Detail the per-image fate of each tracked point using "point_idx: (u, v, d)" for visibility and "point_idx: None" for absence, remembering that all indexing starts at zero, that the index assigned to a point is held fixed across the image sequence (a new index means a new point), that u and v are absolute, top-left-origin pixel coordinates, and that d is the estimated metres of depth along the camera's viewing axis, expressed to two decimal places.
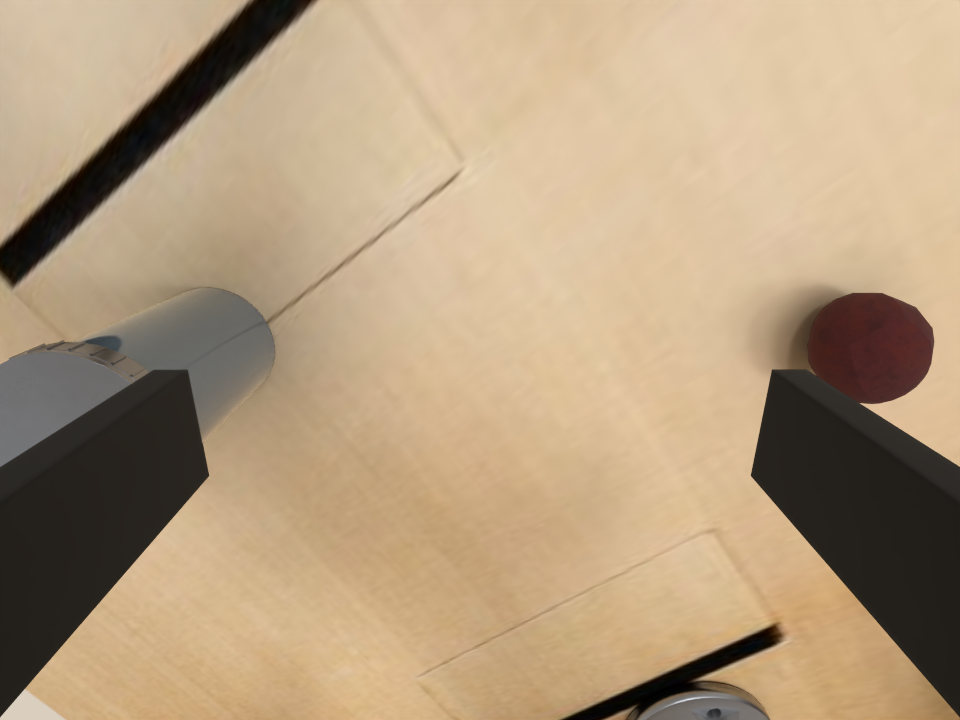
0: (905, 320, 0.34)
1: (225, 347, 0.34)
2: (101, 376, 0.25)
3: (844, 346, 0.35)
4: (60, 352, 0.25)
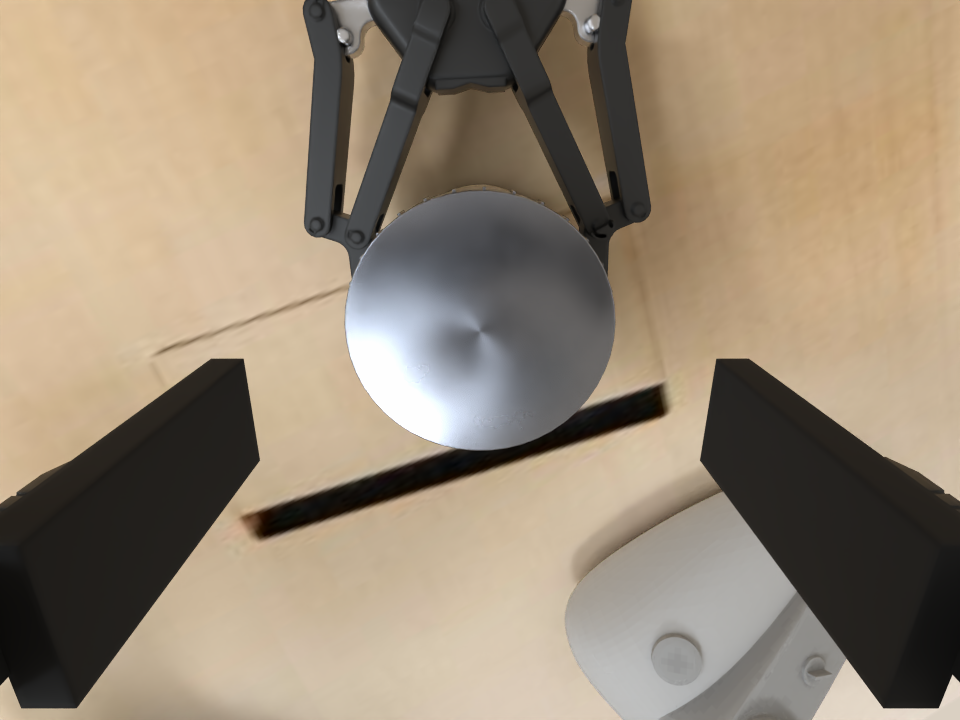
0: None
1: None
2: (394, 402, 0.20)
3: None
4: (429, 440, 0.21)
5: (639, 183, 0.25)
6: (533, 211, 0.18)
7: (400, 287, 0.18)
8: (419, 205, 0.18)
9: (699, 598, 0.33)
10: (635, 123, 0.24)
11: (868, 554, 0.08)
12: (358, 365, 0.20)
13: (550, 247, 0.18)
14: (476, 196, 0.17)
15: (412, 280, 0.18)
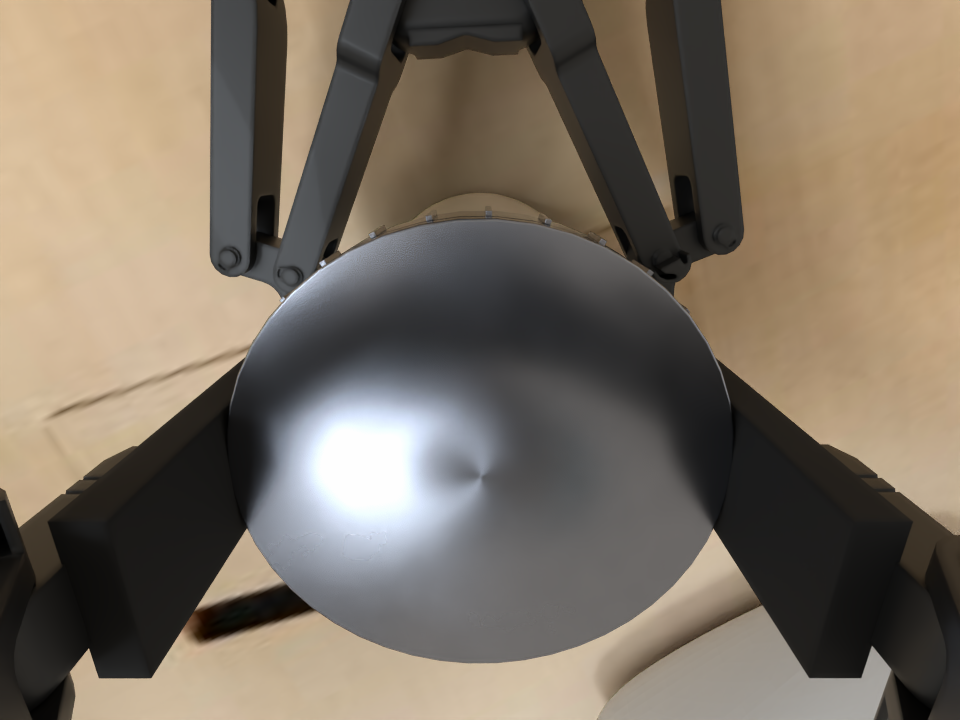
0: None
1: None
2: (326, 590, 0.11)
3: None
4: (392, 646, 0.12)
5: (728, 195, 0.16)
6: (587, 259, 0.09)
7: (328, 400, 0.10)
8: (359, 247, 0.09)
9: None
10: (726, 100, 0.15)
11: (797, 533, 0.08)
12: (258, 531, 0.11)
13: (618, 328, 0.09)
14: (473, 230, 0.09)
15: (350, 388, 0.10)
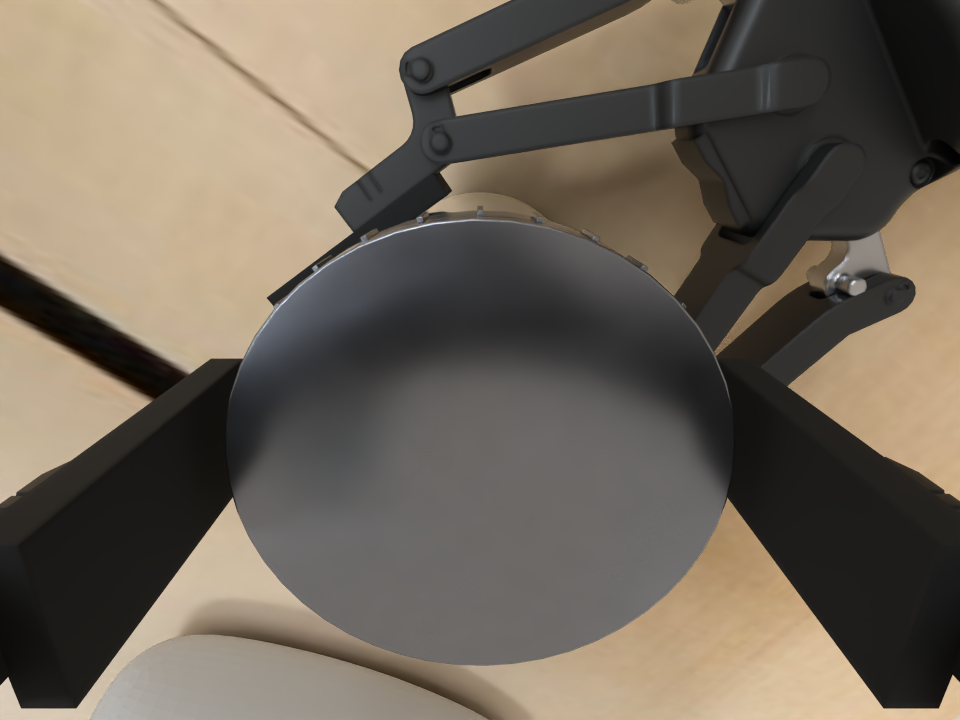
0: None
1: None
2: (480, 646, 0.12)
3: None
4: (574, 646, 0.12)
5: None
6: (357, 267, 0.09)
7: (327, 524, 0.11)
8: (229, 415, 0.10)
9: None
10: None
11: (868, 554, 0.08)
12: (393, 644, 0.12)
13: (436, 284, 0.09)
14: (271, 332, 0.09)
15: (329, 504, 0.10)
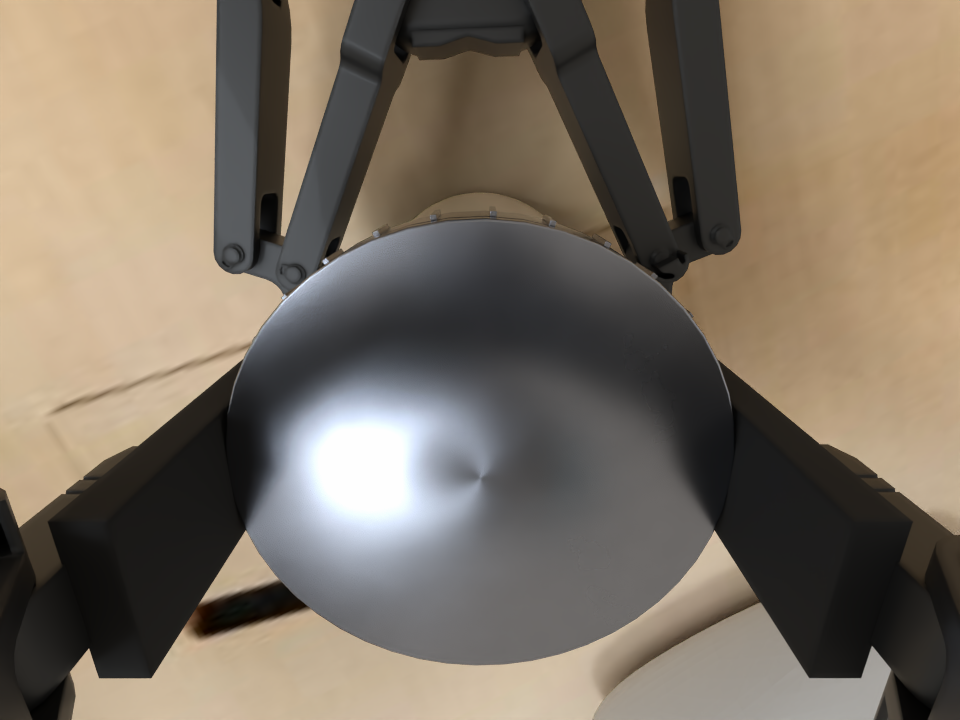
0: None
1: None
2: (654, 573, 0.11)
3: None
4: (723, 501, 0.10)
5: (725, 195, 0.16)
6: (241, 456, 0.10)
7: (445, 605, 0.11)
8: (312, 605, 0.11)
9: None
10: (724, 102, 0.15)
11: (797, 533, 0.08)
12: (597, 632, 0.12)
13: (285, 411, 0.10)
14: (261, 541, 0.11)
15: (428, 593, 0.11)
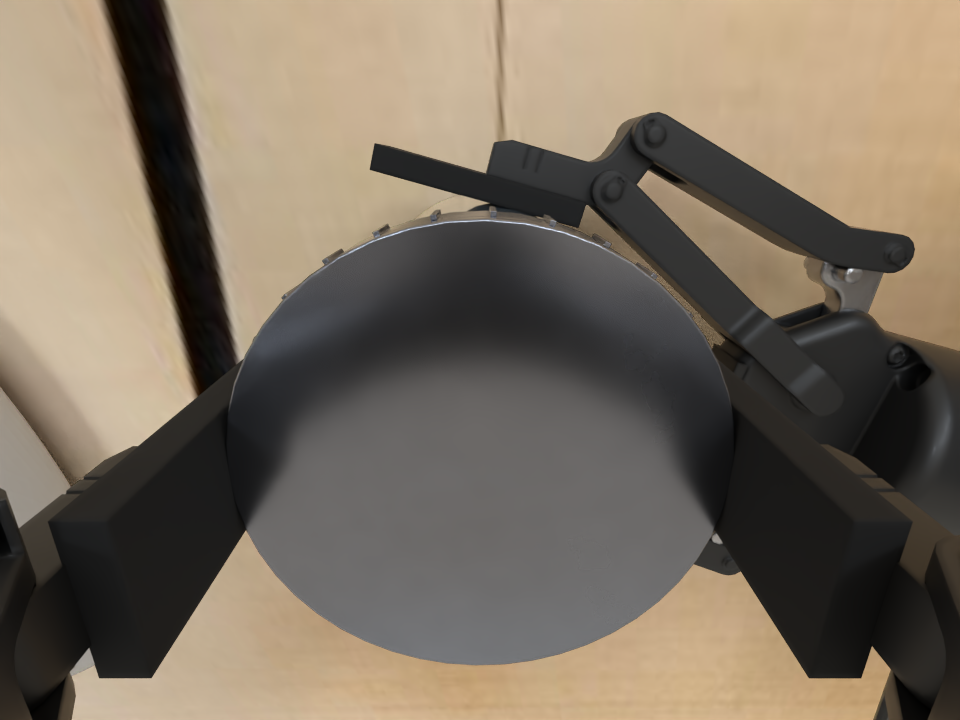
0: None
1: None
2: (654, 573, 0.11)
3: None
4: (723, 501, 0.10)
5: None
6: (241, 456, 0.10)
7: (445, 605, 0.11)
8: (312, 605, 0.11)
9: None
10: None
11: (797, 533, 0.08)
12: (597, 632, 0.12)
13: (285, 411, 0.10)
14: (261, 541, 0.11)
15: (428, 593, 0.11)
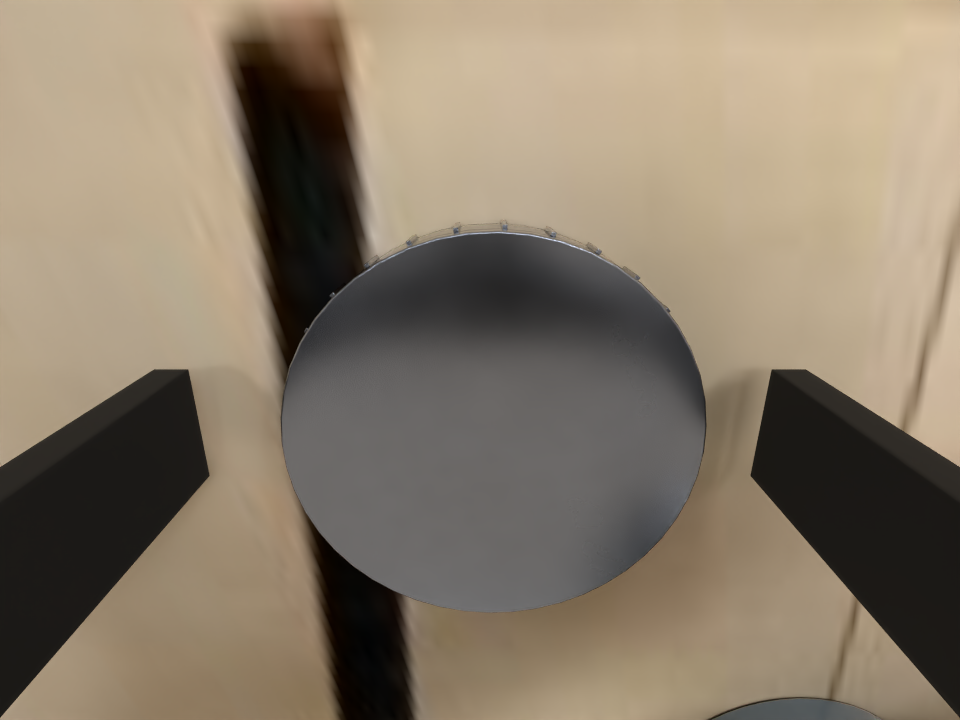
0: None
1: None
2: (640, 530, 0.13)
3: None
4: (697, 468, 0.12)
5: None
6: (293, 428, 0.12)
7: (462, 558, 0.13)
8: (348, 558, 0.13)
9: None
10: None
11: None
12: (592, 583, 0.13)
13: (331, 390, 0.12)
14: (307, 501, 0.13)
15: (447, 548, 0.13)
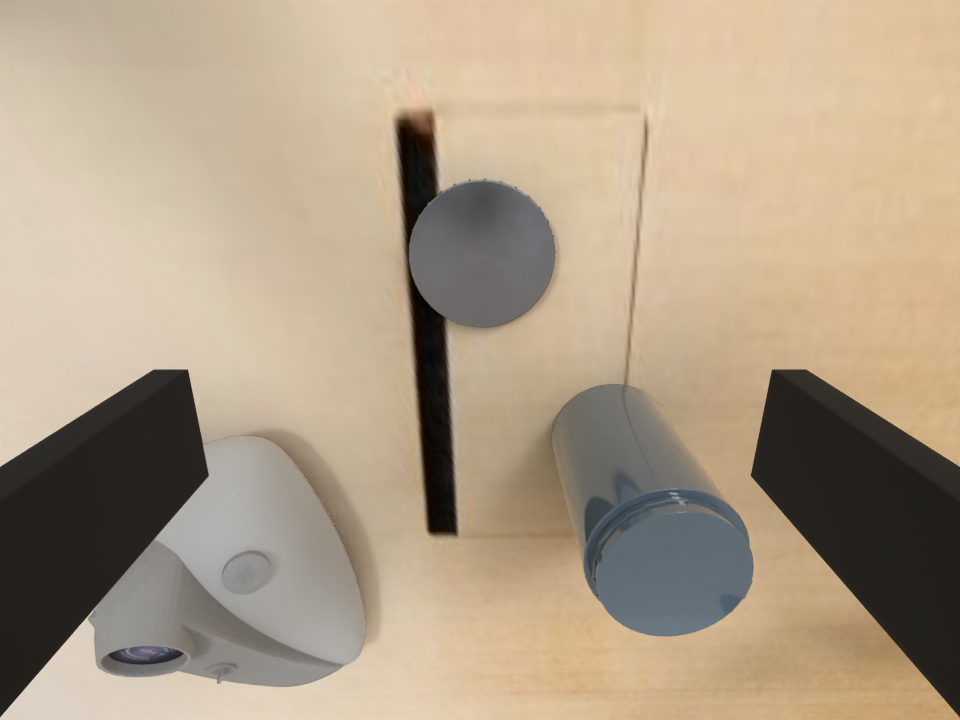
0: None
1: (647, 425, 0.34)
2: (535, 290, 0.36)
3: None
4: (553, 265, 0.36)
5: None
6: (413, 250, 0.35)
7: (471, 303, 0.36)
8: (429, 304, 0.36)
9: (296, 582, 0.36)
10: None
11: None
12: (519, 313, 0.37)
13: (427, 235, 0.35)
14: (416, 279, 0.36)
15: (466, 298, 0.36)
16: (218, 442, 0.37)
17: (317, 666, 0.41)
